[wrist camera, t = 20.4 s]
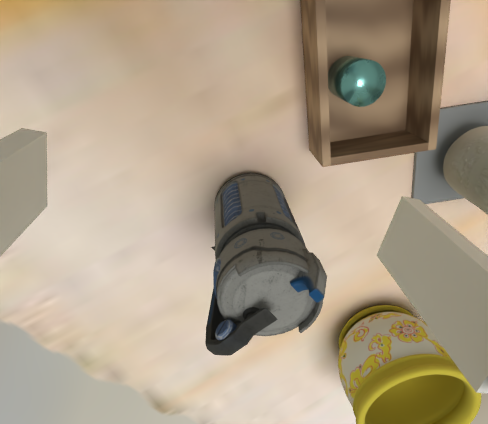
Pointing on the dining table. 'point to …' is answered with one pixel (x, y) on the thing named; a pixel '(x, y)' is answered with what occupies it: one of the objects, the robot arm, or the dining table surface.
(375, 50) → the walnut crate
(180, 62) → the dining table surface
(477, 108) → the grey mat
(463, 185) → the grey vase
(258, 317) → the beverage bottle
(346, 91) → the teal tin
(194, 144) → the dining table surface
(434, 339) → the flowerpot
